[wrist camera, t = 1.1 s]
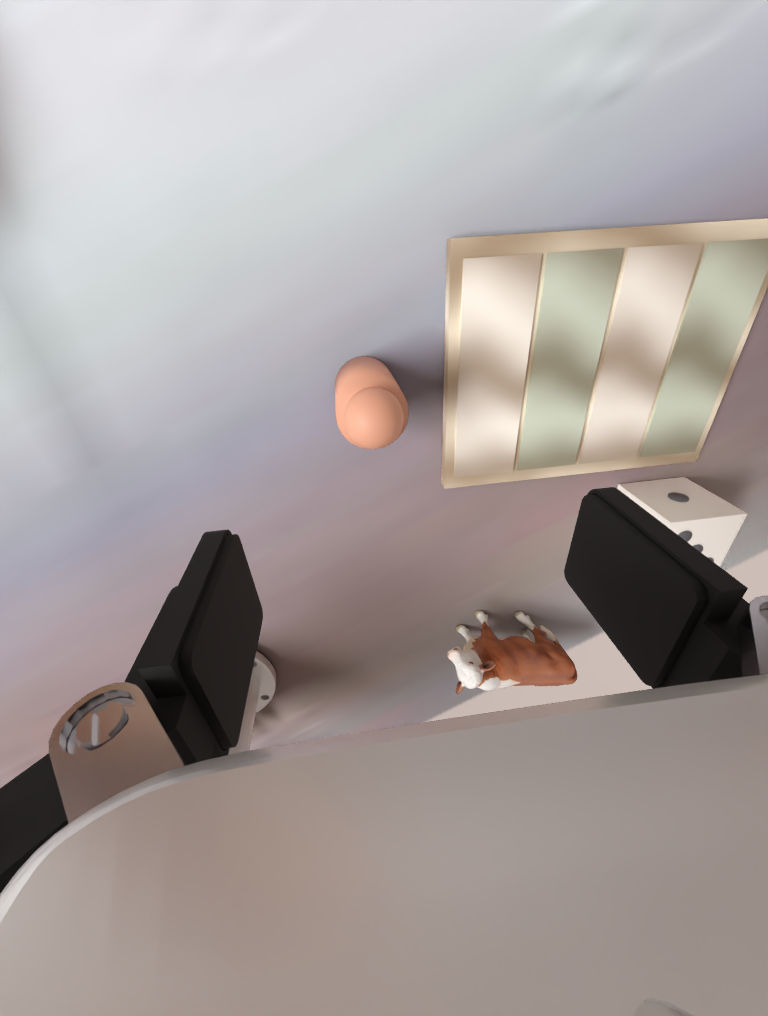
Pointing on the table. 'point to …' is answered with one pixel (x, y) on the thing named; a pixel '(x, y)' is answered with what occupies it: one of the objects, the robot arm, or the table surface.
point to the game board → (592, 346)
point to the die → (690, 513)
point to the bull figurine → (511, 658)
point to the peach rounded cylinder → (369, 403)
